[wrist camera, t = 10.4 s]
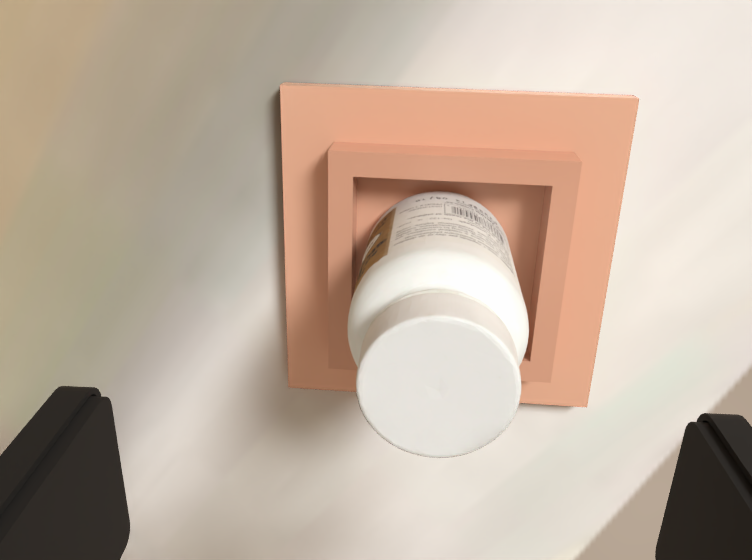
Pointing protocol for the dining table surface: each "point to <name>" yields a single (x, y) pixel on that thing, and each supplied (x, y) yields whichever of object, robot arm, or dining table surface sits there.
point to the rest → (466, 177)
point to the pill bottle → (438, 326)
